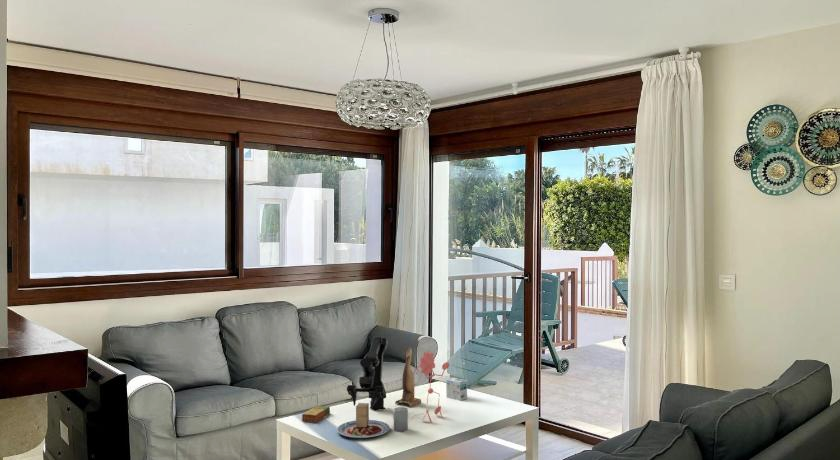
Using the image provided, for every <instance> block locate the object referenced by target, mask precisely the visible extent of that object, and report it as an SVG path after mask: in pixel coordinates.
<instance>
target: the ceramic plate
mask: <svg viewBox="0 0 840 460" xmlns="http://www.w3.org/2000/svg"><path fill="white" fill-rule="evenodd" d="M390 429H391V426H390V425H389V424H388V423H387V422H384V421H381V420H378V419H369V424H368V425H367V427H356V419H355V420H351V421H346V422H344V423H341V424H339V425H338V426H337V428H336V431H337V433H338V434H340V435H342V436H344V437H349V438H354V439H355V438H356V439H364V438H365V439H366V438H368V439H369V438H374V437H378V436H382V435H384V434H387V433H388V432H389V431H390Z"/></svg>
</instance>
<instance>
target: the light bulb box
mask: <svg viewBox="0 0 840 460" xmlns="http://www.w3.org/2000/svg"><path fill="white" fill-rule="evenodd" d="M445 383H446V385H445V386H446V395H445V396H446V398H447V399H451V400H456V401H463V400H467V399H468V380H467V379H461V378H457V377H450V378H447V379H446V381H445Z"/></svg>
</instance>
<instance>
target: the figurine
mask: <svg viewBox="0 0 840 460" xmlns="http://www.w3.org/2000/svg"><path fill="white" fill-rule="evenodd" d="M434 354H435V353H434V352H430V351H429V350H428V351H426V352H423V354H422V357H420V358H419V361H420V364H419V365H418V366H417V367H416V368H415V369H414V370H413V371H412V372H413V373H412V374H414V373H415V372H416V371H417V370H418V369H419V368H421V369H420V373H421V374H424V376H425V378H426V379H429V387H428V388H429V389H427V397H426V405H428V401H429V394H430V395H431V394H433V393H435V394H437V395H438V396H440V395H441V394H440V393H439V392H436V391H434V389H433V388H431V386H432V385H431V383H432V379H433V378H434V377H435V376H436V377H437V376H438V377H443V376H444V372H445V370H448V369H449V367H450V363H449V362H448V361H446V362H444V363H443V364H442V366H441V368H442V370H443V371H442V373H441V374H436V373H434V370H433V369H436V364H435V358H434ZM412 374H411V375H412ZM429 374H430V375H429ZM428 375H429V376H428ZM437 401H438V403H437V407H436V408H435V410H434V415H435V416H438V414H440V416H441V419H444V417H443V416H444V415H442V411H441V409H442V407H441V406H440V399H438V400H437ZM429 411H430V410H428V409H427V410H426V411H425V412H423V413H422V414H425V415H424V416H423V418H422V419H421V421H423V420H424V419H425V418H426V416H427V415H428V416H427V417H428V419H429V421H430V423H433V421H432V420H431V416H430V414H429ZM418 415H420V414H415V415H413V416H412V418H414V417H416V416H418Z"/></svg>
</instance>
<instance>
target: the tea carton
mask: <svg viewBox="0 0 840 460" xmlns="http://www.w3.org/2000/svg"><path fill="white" fill-rule="evenodd" d="M369 406H370V405H369V403H368V402H367V403H366V402H365V403H364V402H358V403H357V405H355V420H356V427H367V425H368V424H369V420H370V412H369V411H370V407H369Z"/></svg>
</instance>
